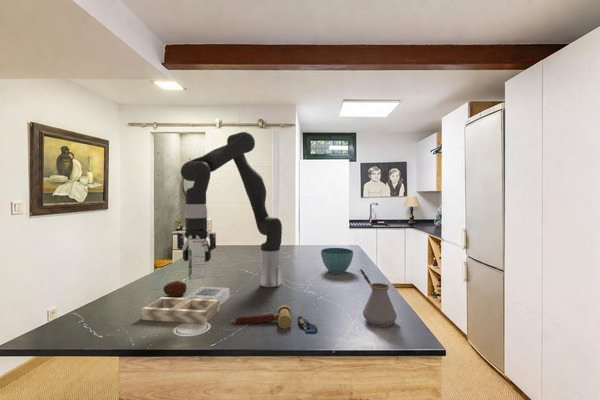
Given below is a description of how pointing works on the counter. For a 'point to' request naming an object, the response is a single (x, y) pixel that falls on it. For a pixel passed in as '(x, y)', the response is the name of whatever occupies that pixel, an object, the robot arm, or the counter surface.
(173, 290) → the potato
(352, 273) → the counter surface
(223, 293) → the socket block
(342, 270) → the teal bowl
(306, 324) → the micrometer
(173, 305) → the rack
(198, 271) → the syrup box
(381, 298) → the coffee pot
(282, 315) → the gavel
